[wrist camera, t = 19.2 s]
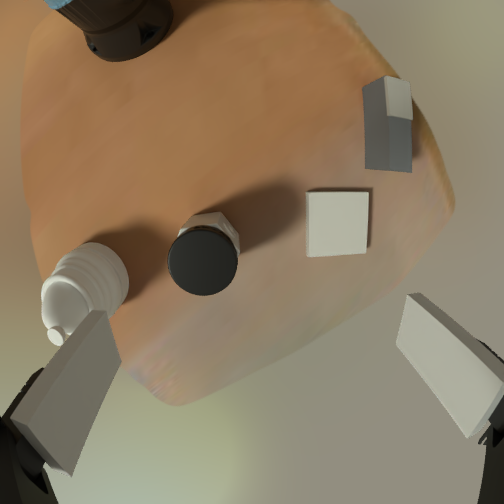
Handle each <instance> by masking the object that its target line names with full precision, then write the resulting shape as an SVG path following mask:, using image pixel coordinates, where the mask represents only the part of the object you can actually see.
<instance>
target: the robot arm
mask: <svg viewBox="0 0 504 504" xmlns="http://www.w3.org/2000/svg"><path fill="white" fill-rule="evenodd" d="M44 1H45V2H46V3H47V4H48V5H49V7H50V8H52V9H55V10H56V11H58V12H59V13H60V14H62V15H63V16H64V17H66V18H67V19H68V20H70V21H71V22H72V23H74V24H75V25H76V26H77V27H79V28H80V29H81V30H83V33H84V36H85V39H86V42H87V45H88V47H89V49H90V50H91V51H92V52H93V53H94V54H95V55H97V56H98V57H99V58H101V59H103V60H106V61H110V62H120V61H126V60H130V59H133V58H136V57H138V56H140V55H142V54H144V53H145V52H147V51H149V50H150V49H151V48H153V47H154V46H155V45H156V44H158V43H159V42H160V41H161V40H162V38H163V37H164V36H165V35H166V33H167V32H168V30H169V28H170V26H171V23H172V19H173V10H172V7H171V5H170V2H169V0H44ZM396 346H397V347H398V348H399V349H400V351H401V352H402V353H403V354H404V356H405V357H406V358H407V359H408V361H409V362H410V363H411V364H412V366H413V367H414V368H415V369H416V371H417V372H418V373H419V374H420V376H421V377H422V378H423V380H424V381H425V382H426V383H427V385H428V386H429V387H430V389H431V390H432V391H433V393H434V394H435V395H436V397H437V398H438V399H439V401H440V402H441V403H442V405H443V406H444V407H445V409H446V410H447V411H448V413H449V414H450V416H451V417H452V418H453V420H454V421H455V422H456V424H457V425H458V427H459V428H460V430H461V431H462V432H463V434H464V435H465V436H466V438H467V439H468V438H469V437H471V436H472V435H474V434H476V433H478V432H479V431H480V430H481V429H482V428H483V426H484V425H485V423H486V422H487V421H488V420H489V421H490V423H491V425H490V426H489V428H488V429H487V430H486V432H485V433H484V434H483V436H482V437H481V438H480V440H479V442H478V444H481V443H482V441H483V440H484V439H485V437H487V440H486V441H485V442H484V444H483V445H486V455H485V464H484V471H483V478H482V484H481V489H480V494H479V499H478V503H477V504H504V361H503V360H502V359H501V358H500V357H498V356H497V354H496V353H495V352H494V351H492V350H491V349H490V348H489V347H488V346H487V345H486V344H485V343H483V342H481V341H479V340H477V339H475V338H474V337H473V336H472V335H471V334H470V333H469V332H467V331H466V330H465V329H464V328H463V327H462V326H460V325H459V324H458V323H457V322H456V321H454V320H453V319H452V318H451V317H449V316H448V315H447V314H446V313H445V312H443V311H442V310H441V309H439V307H437V306H436V305H435V304H433V303H432V302H431V301H430V300H429V299H427V298H426V297H425V296H423V295H422V294H421V293H414V294H407V298H406V303H405V308H404V312H403V317H402V321H401V325H400V329H399V333H398V337H397V341H396ZM121 362H122V361H121V358H120V355H119V352H118V349H117V346H116V343H115V340H114V336H113V333H112V330H111V326H110V323H109V319H108V315H107V311H104V310H91V311H90V313H89V314H88V315H87V316H86V317H85V318H84V320H83V321H82V322H81V323H80V324H79V325H78V327H77V328H76V329H75V330H74V332H73V333H72V334H71V335H70V336H69V338H68V339H67V340H66V341H65V343H64V344H63V345H62V346H61V348H60V349H59V350H58V352H57V353H56V354H55V355H54V356H53V358H52V359H51V360H50V362H49V363H48V364H47V366H46V367H45V368H41V369H39V370H38V371H37V372H35V373H34V374H33V375H32V376H31V377H30V378H29V380H28V381H27V382H26V386H25V385H24V387H23V388H22V389H21V392H20V393H18V395H17V396H16V398H15V399H14V400H13V402H12V403H11V405H10V406H9V408H8V409H7V410H6V412H5V413H4V415H3V416H2V418H1V417H0V504H58V501H57V499H56V497H55V494H54V491H53V489H52V486H51V483H50V481H49V478H48V475H47V473H46V471H45V469H44V468H43V465H44V463H45V462H46V463H47V464H48V465H49V466H50V467H51V468H52V469H53V470H54V471H56V472H59V473H61V474H64V475H67V476H70V477H72V475H73V472H74V469H75V466H76V464H77V461H78V459H79V456H80V454H81V451H82V449H83V446H84V444H85V441H86V439H87V437H88V434H89V431H90V429H91V427H92V425H93V422H94V420H95V418H96V416H97V413H98V411H99V409H100V406H101V404H102V402H103V400H104V398H105V395H106V393H107V391H108V389H109V387H110V385H111V383H112V380H113V379H114V376H115V374H116V372H117V370H118V368H119V366H120V364H121Z"/></svg>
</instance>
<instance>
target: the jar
mask: <svg viewBox="0 0 504 504" xmlns="http://www.w3.org/2000/svg"><path fill="white" fill-rule="evenodd" d="M239 254H240V244H239V234H238V233H237V231H236V230H235V229H234V228H233V226H232V225H231V224H230V223H229V221H228V220H227V219H226V218H225V216H224V215H223V214H222V213H221V212H214V213H207V214H200V215H194V216H191V217H190V218H189V219H188V221H187V222H186V223H185V224H184V225H183V227H182V228H181V229H180V231H179V234H178V237H177V239H176V240H175V241H174V243H173V244H172V246H171V248H170V250H169V254H168V269H169V272H170V274H171V277H172V278H173V280H174V281H175V283H176V284H177V285H178V286H179V287H181V288H182V289H183V290H185V291H187V292H189V293H191V294H195V295H200V296H207V295H213V294H216V293H218V292H220V291H222V290H223V289H225V288H226V287H227V286H228V285H229V284H230V283H231V281H232V280H233V278H234V276H235V273H236V270H237V265H238V256H239Z"/></svg>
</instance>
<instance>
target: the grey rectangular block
mask: <svg viewBox="0 0 504 504" xmlns="http://www.w3.org/2000/svg"><path fill="white" fill-rule="evenodd" d="M362 91H363V106H364V126H365V169H374V170H386V171H398V172H409V173H412V132H411V120H413V111H412V99H411V89H410V82H408V81H405V80H401V79H398V78H394V77H390V76H383V77H381V78H379V79H377V80H375V81H373V82H371V83H370V84H368V85H366V86H364V87H362Z"/></svg>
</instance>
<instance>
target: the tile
mask: <svg viewBox="0 0 504 504" xmlns="http://www.w3.org/2000/svg"><path fill="white" fill-rule="evenodd" d="M368 200H369V192H365V191H312V192H306V255H307V256H308V257H320V256H334V255H348V254H361V253H366V246H367V229H368Z"/></svg>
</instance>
